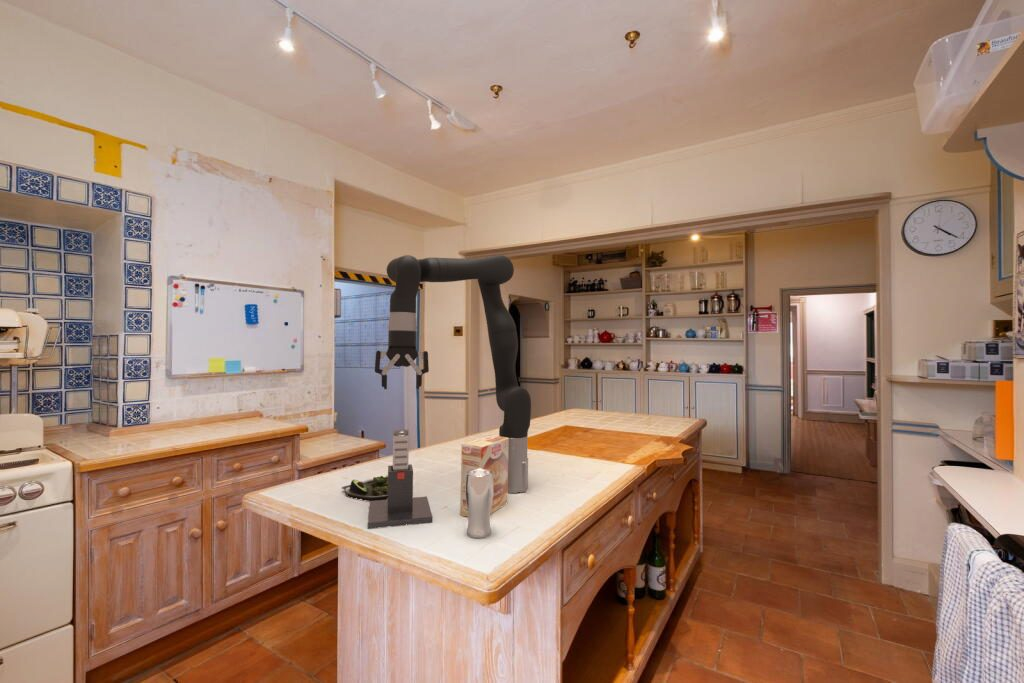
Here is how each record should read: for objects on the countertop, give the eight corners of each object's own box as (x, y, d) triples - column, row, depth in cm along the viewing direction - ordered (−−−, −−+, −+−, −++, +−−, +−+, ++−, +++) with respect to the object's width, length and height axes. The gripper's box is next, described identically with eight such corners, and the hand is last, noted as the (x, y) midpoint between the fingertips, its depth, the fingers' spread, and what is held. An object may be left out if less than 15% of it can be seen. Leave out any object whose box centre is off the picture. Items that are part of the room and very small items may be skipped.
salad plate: (376, 479, 154) (376, 465, 154) (419, 486, 147) (419, 472, 147) (333, 496, 136) (334, 480, 136) (380, 505, 129) (380, 489, 129)
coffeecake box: (480, 520, 118) (481, 446, 118) (458, 515, 121) (460, 443, 121) (508, 503, 131) (509, 437, 131) (488, 499, 134) (489, 434, 134)
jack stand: (426, 501, 131) (427, 459, 131) (432, 522, 116) (433, 474, 116) (369, 506, 127) (370, 462, 127) (367, 528, 111) (368, 478, 112)
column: (407, 504, 124) (408, 429, 124) (407, 510, 120) (409, 431, 120) (391, 505, 123) (393, 429, 123) (392, 511, 119) (393, 432, 119)
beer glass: (464, 527, 113) (465, 468, 113) (492, 527, 113) (493, 468, 114) (464, 539, 106) (465, 476, 106) (493, 539, 107) (494, 476, 107)
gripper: (427, 330, 127) (426, 387, 127) (375, 329, 124) (374, 387, 123) (430, 329, 120) (429, 389, 120) (375, 328, 116) (374, 390, 116)
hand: (401, 388), depth 122 cm, fingers open, 8 cm apart
